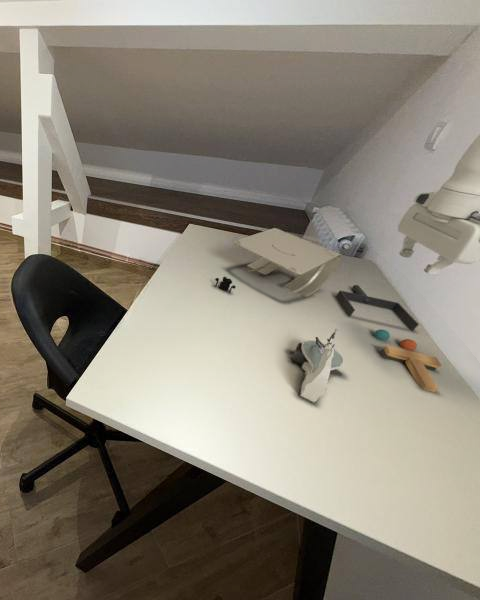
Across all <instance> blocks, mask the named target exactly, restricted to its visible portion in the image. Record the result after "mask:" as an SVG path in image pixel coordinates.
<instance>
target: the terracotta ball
mask: <svg viewBox="0 0 480 600" xmlns="http://www.w3.org/2000/svg"><path fill="white" fill-rule="evenodd" d="M399 346H400V347H401V349H404V350H409V351H414V350H416V349H417V347H418V344H417V342H416V341H415V340H413V339H410V338H405V339H402V340H401V341H400V343H399Z"/></svg>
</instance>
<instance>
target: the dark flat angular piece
mask: <svg viewBox="0 0 480 600" xmlns="http://www.w3.org/2000/svg"><path fill="white" fill-rule="evenodd" d="M351 288H352V290H353V291H354V292H350V291H345V290H341V289H340V290H338V292H337V294H336V296H335V298H336V299H337V301H338V303H339V305H340V306H341V308H342V309H343V310H344V312H345V314H346V315H347V317H351V316H352V315H353V314H354V312H355V311H356V309H355V307H354V306H353V305H352V304H351V302H356V303H360V304H364V305H368V306H373V307H378V308H382V309H387V310H391V311H393V312H394V314H395V315H396V316H397V317H398V318H399V319H400V320H401V321H402V323H403V324H405V325H406V327H407V328H408V329H409V330H410V331H411V332H414V331H415V330H416V328H417V327H418V326H419V325H420V324H419V322H417V320H416V319H415V318H414V317H413V316H412V315H411V314H410V313H409V312H408V311H407V310H406V309H405V308H404V307H403V305H401V304H400V303H399V302H397V301H392V300H387V299H383V298H378V297H373V296H368V294H367V293H366V292H365V291H364V290H363V289H362V287H361V286H360V285H358V284H354V285H352V286H351Z"/></svg>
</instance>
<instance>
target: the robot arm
mask: <svg viewBox="0 0 480 600" xmlns="http://www.w3.org/2000/svg"><path fill="white" fill-rule="evenodd" d="M397 231H398V232H399V233H400V234H402V235H404V236H405V237H404V239H403V242H402V248H401V249H400V251H399V253H398V255H399V256H401V257H403V258H408V259H409V258H411V257H412V256H413V254H414V253H415V250H414V247H415V244H417V243H418V244H420V245H422V246H423V247H425V248H427V249H429V250H430V251H432V252H434V253H436V254H438V255H439V256H438V257H437V258H436V260H437V261H435V262H434V263H433V264H431V263H429V264H427V265H426V267H425V268H424V269H423V271H424V273H427V274H428V275H432V276H436V275H438V274H439V273H440V272H441V271H442V269H445V268H446V267H448V266H450V265H453V264H454V263H458V264H462V265H471V264H474V263H476V262H478V261H479V260H480V134H479V135H478V136H477V137H476V138H475V139H474V140H473V141H472V143H471V144H470V145H469V146H468V148H467V149H466V151H465V152H464V153H463V155H462V156H461V157H460V159H459V160H458V162H457V163H456V165H455V168H454V171H453V173H452V175H451V176H450V177H449V178H448V179H447V180H446V181H445V182H444V183H443V184H442V185H441V186H440V188H439V189H438V191H437V190H436V191H435V190H434V191H429V192H419V193H417V194H416V196H415V197H414V199H413V204H412V205H411V206H410V207H408V209H407V211H406V212H405V213H404V214H403V216H402V218H401V220H400V221H399V223H398V225H397Z"/></svg>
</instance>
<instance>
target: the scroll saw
mask: <svg viewBox="0 0 480 600" xmlns="http://www.w3.org/2000/svg"><path fill="white" fill-rule="evenodd" d="M337 331H338V328H335V329H334V331H333V332H332V333H331V336H330V337H329V338H327V339H326V342H327V343H324V342H321V340H320V338H319V337H318V336H315V340H305V341H303V342H298V344H297V346H296V348H295V351H294V350H290V351H289V355H291V359H292V361H295V362H296V363H298V364H301V365H300V370H301V371H302V372H303V374H302V376H301V378H300V380H299V389H298V394H297V396H298V397H299V398H300V399H303V400H305V401H306V402H309V403H310V404H313V405H315V404H316V403H317V401H318V399H319V398H321V397H322V396H324V395H325V393H326V391H327V390H326V389H327V386H328V384H329V382H328V381H329V378H330V374H331V375H334V376H336V377H342V376H343V373H342V372H341V371H339V370H338V369H339V368H340V367H342V365H344V357H343V356H342V354H341V353H340V352H339V351H338V350H337V349H335V348H334V347H335V345H336V344H335V343H334V344H332V343H333V340H334V339H335V336H336V332H337Z"/></svg>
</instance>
